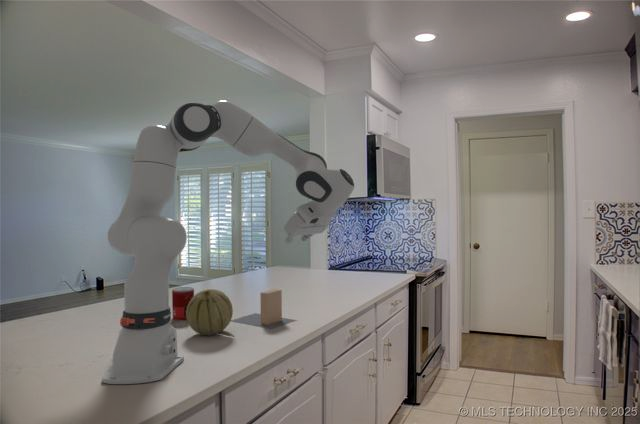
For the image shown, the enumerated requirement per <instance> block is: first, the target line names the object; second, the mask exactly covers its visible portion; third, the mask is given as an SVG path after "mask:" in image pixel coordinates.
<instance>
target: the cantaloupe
mask: <svg viewBox="0 0 640 424" xmlns="http://www.w3.org/2000/svg"><path fill="white" fill-rule="evenodd" d="M233 309H234V308H233V303H232V302H231V300H230V299H229V296H228V295H226V293H225V292H223V291H221V290H218V289H205V290H201V291H199V292H198V293H195V294H194V297H193V298H192V299H191V300H190V302H189V304H188V306H187V309H186V318H187V324H188V326H189V327H190V328H191V329H192V330H193V331H194V332H195V333H196V334H199V335H201V336H213V335H217V334H219V333H221V332H223V331H224V330H225V329H227V327H228V326H229V325H230V324H231V320H233V319H232V318H233V314H234V313H233V312H234V310H233Z"/></svg>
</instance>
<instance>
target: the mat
mask: <svg viewBox="0 0 640 424" xmlns="http://www.w3.org/2000/svg"><path fill="white" fill-rule="evenodd" d="M296 321H297V320H296V319H291V318H287V317H282V320H281V321H278V322H275V323H272V324H269V325H264V324H261V313H257V312H254V313H251V314H247V315H245V316H242V317H238V318H234V319H231V321H230V323H238V324H243V325H246V326H247V325H249V326H253V327H258V328H263V329H270V330H274V329H276V328H279V327H282V326H285V325H287V324H290V323H294V322H296Z"/></svg>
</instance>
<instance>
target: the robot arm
mask: <svg viewBox="0 0 640 424" xmlns="http://www.w3.org/2000/svg"><path fill="white" fill-rule="evenodd" d="M137 138H138V139H137V142H136V145H135V149H134V154H133V160H132V168H131V176H130V181H129V188H128V193H127V196H126V199H125V200H124V203H123V204H124V205H123V206H122V209H121V211H120V214H119V216H118V217H117V219H116V220H115V221H114V222H113V223H112V224H111V225H110V227H109V229H108V231H107V240H108V244H109V246H110V247H111V248H112V249H113V250H115V251H116V252H118V253H120V254H123V256H128V257H134V258H135V259H134V263H133V264H134V265H133V267H132V271H131V273H130V274H129V275H128V276H127V278H126V279H125V281H124V284H123V285H124V288H123V289H124V290H123V292H124V294H123V295H124V304H123V305H124V309H123V310H122V315H121V318H120V320H119V323H120V326H121V327H122V328H121V329H120V330H119V332H118V336H117V340H116V342H115V347H114V350H113V354H112V358H111V359H110V360H109V363H108V364H107V367H106V370H105V372H104V373H103V375H102V378H101V382H102V383H103V384H111V385H135V384H143V383H152V382H157V381H161V380H162V379H164V378H165V377H166V376H167V375H168V374H169V373H171V372H172V371H173V370H174V369H176V367H178V366H179V365H180V364H181V363H182V362H184V360H185V357H184V355H182V354H179V352H178V335H177V328H175V327H174V326H173V325H172V324H171V316H172V312H171V307H170V306H169V303H170V301H169V296H170V295H169V294H170V290H169V289H170V278H171V272H172V268H173V265H174V264H175V260H176V259H177V258H178V256H179V254H181V253H182V252H183V250H184V249H185V247H186V244H187V238H188V237H187V236H188V235H187V231H186V229H185V227H184V225H183V224H182V223H181V222H179V221H177V220H175V219H172V218H170V217H166V216H161V214H162V212H163V209H164V207H165V206H166V204H167V203H168V202H169V201H171V199H172V197H173V195H174V189H175V179H176V170H177V161H178V160H177V159H178V156H179V153H180V152H181V153H182V152H189V151H190V152H191V151H194V150H197V149H198V148H200V147H201V146H203V145H204V144H205V143H206V142H207V141H208V139H210V138H217V139H220V140H222V141H224V142H225V143H226V144H227V145H229V146H230V147H232V148H233V149H235V150H237V151H238V152H239V153H241V154H243V155H245V156H248V157H250V158H252V157H258V156H261V155H263V154H271V155H274V156H276V157H278V158H279V159H280V160H282V161H283V162H284V163H285V162H286V163H287V164H289V165H291V167H293V168H294V170H295V172H296V176H295V187H296V190H297V191H298V193H299V194H300V195H301V196H302V197H303V196H304V197H305V198H307V199H309V201H307V202H305V203H302V204H300V205H298V206H297V207H296V208H295V210H296V211H295V212H294V213H293V214H292V215H291V216H290V217H289V218H288V220H287V222H286V223H285V224H284V226H283V231H284V233H285V234H286V235H287V236H286V237H285V239H284V242H285V243H286V244H292V242H293V241H294V239H293V238H295V237H298V236H299V237H300V236H301V237H300V239H301V240H302V242H307V241H308V240H309V239H310V238H312V237H313V236H314V235H317V234H322V233H324V232H325V231H326V230H327V228H328V227H329V226H330V224H331V222H332V221H333V219H332V218H333V217H334V216H335V214H336V213H337V211H338V209H339V208H341V207H342V206H343V205H344V204H345V203H346V202H347V200H348V199H349V198H350V196H351V194H352V192H353V191H354V190H355V183H354V179H353V178H352V177H351V175H350V174H349V173H348V172H347V171H346V170H344V169H342V168H338V169H328V165H327V162H326V160H325V159H324V157H323V156H322V155H320V154H318V153H316V152H311V151H308V150H305V149H304V148H301V147H299V146H298V145H296V144H295V143H293V142H292V141H290V140H289V139H287V138H285V137H284V136H282V135H281V134H279V133H277V132H276V131H274V130H272V129H271V128H270V127H268V126H267V125H266V124H264V123H263V122H261V121H260V120H259V119H258V118H256V117H255V116H253V115H252V114H251V113H249V112H248V111H246V110H245V109H243V108H241V107H240V106H238V105H236V104H234V103H232V102H231V101H227V100H218V101H216V102H215V103H213V105H211V104H204V103H201V102H196V101H195V102H193V101H192V102H187V103H185V104H182V105H181V106H180V107H178V108H177V110H176V111H175V113H174V114H173V115H172V117H171V118H170V121H169V123H168V124H167V125H159V124H152V125H147V126H145V127H143V129H142V130H141V131H140V133H139V136H138V137H137Z"/></svg>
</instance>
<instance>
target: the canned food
mask: <svg viewBox="0 0 640 424" xmlns="http://www.w3.org/2000/svg"><path fill="white" fill-rule="evenodd" d="M171 293H172V294H171V295H172V296H171V298H172V299H171V301H172V302H171V306H172V308H171V309H172V312H171V313H172V319H174V320H175V321H176V320H177V321H186V320H187V318H186V309H187V306H188V304H189V302H190V300H191V299H192V298H193V297H194V296H195V288H194V287H192V286H191V287H190V286H180V287H179V286H178V287H174V288H172V290H171Z"/></svg>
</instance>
